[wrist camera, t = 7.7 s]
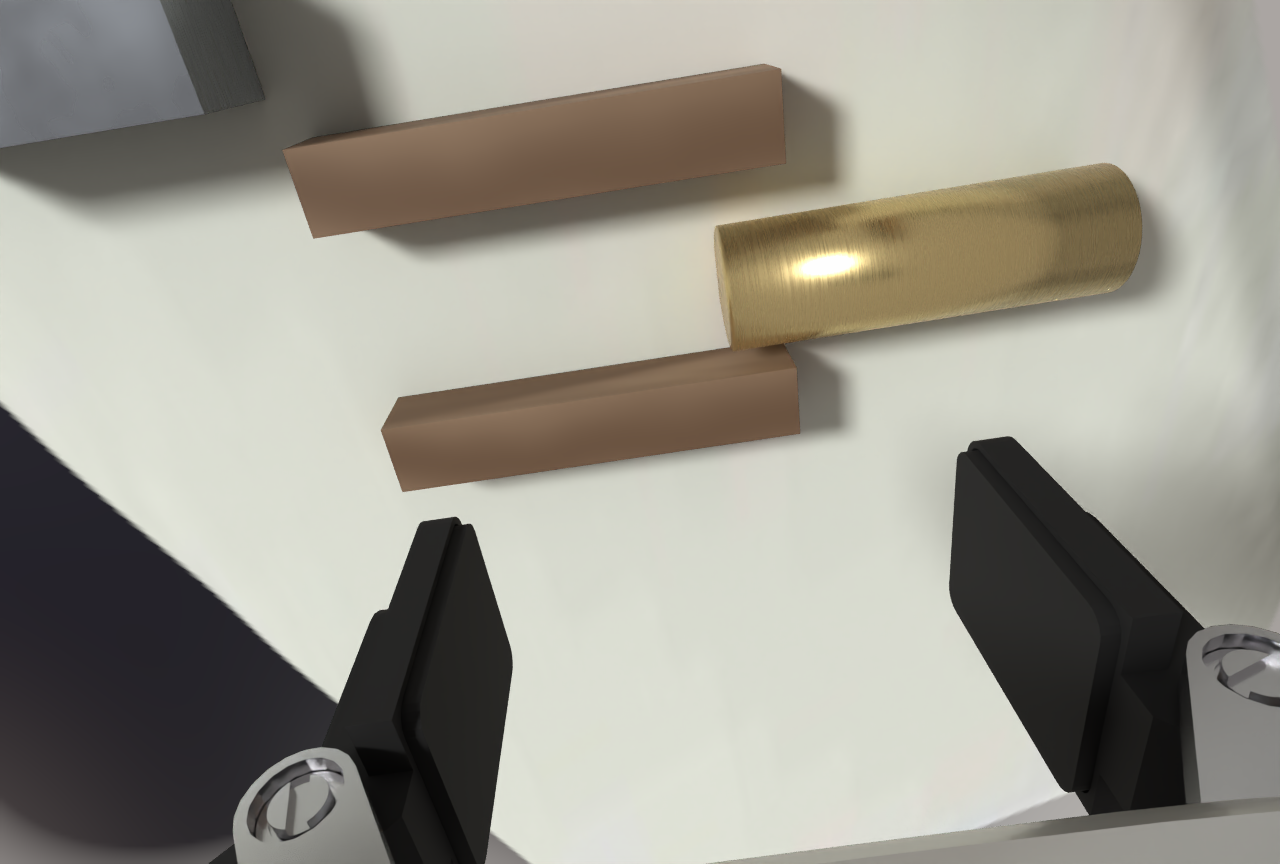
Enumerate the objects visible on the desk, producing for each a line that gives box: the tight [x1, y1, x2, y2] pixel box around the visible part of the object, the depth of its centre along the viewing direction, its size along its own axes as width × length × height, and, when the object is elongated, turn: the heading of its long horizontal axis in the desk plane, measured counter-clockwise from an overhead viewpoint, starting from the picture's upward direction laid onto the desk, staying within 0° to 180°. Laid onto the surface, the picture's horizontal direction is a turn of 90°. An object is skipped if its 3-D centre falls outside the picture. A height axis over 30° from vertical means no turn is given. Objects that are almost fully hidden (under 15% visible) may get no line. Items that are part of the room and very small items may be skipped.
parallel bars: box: [282, 64, 800, 492], centre depth 25 cm, size 12×14×2 cm
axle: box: [714, 163, 1142, 351], centre depth 24 cm, size 12×4×4 cm, turn 99°
